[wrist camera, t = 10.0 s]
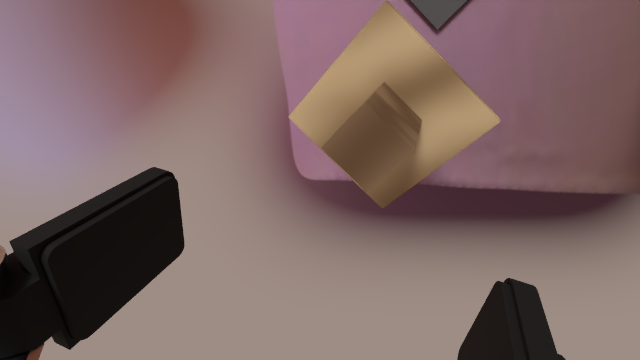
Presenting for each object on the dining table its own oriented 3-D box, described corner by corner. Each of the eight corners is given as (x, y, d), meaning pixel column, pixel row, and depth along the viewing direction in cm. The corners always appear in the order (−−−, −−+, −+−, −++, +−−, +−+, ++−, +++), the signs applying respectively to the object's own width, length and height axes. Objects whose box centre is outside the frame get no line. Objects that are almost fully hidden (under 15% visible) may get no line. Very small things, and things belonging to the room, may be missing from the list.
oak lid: (497, 116, 21) (520, 158, 15) (384, 201, 26) (366, 258, 20) (388, 1, 20) (364, -5, 14) (294, 113, 25) (247, 144, 19)
